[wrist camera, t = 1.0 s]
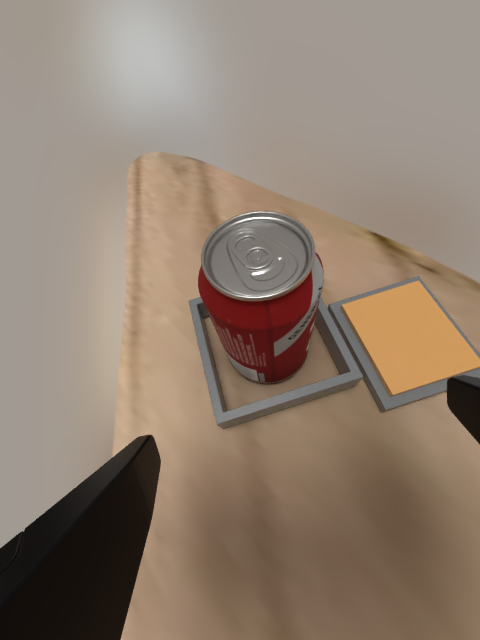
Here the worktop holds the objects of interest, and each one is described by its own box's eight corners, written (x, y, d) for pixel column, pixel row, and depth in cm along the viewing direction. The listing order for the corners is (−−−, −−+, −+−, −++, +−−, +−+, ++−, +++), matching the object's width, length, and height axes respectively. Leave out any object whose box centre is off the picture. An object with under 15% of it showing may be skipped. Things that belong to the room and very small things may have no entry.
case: (354, 386, 21) (363, 376, 19) (223, 428, 21) (216, 424, 19) (302, 281, 26) (303, 264, 24) (196, 314, 26) (188, 300, 24)
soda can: (256, 402, 22) (233, 339, 11) (214, 338, 25) (166, 242, 14) (324, 356, 23) (361, 259, 12) (276, 300, 26) (273, 185, 15)
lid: (486, 378, 20) (501, 371, 19) (381, 412, 20) (388, 408, 19) (413, 282, 25) (421, 271, 23) (327, 310, 25) (330, 300, 23)
